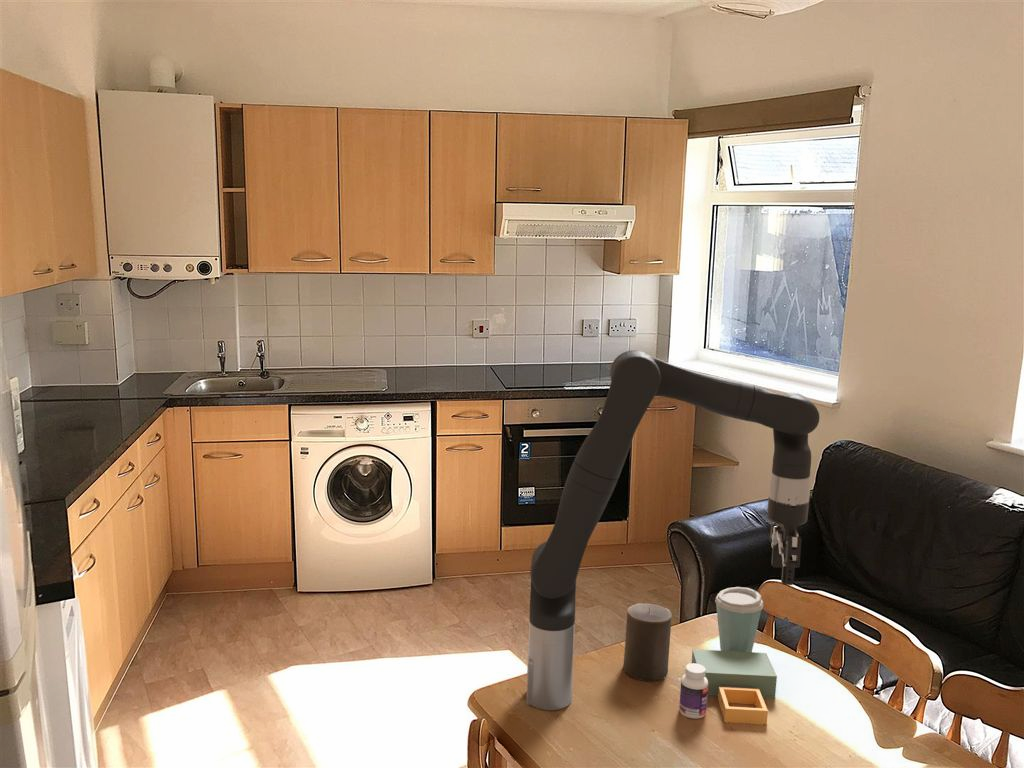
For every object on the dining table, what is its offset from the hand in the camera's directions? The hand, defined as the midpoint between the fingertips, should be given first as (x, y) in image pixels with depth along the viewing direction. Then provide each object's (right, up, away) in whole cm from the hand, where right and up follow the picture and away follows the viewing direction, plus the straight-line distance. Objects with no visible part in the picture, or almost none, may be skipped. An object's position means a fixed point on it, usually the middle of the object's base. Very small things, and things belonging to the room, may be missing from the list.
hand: (782, 575), depth 174 cm
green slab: (-6, -28, +10) cm, 30 cm away
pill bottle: (-17, -29, +4) cm, 34 cm away
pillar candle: (-24, -26, +21) cm, 40 cm away
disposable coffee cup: (-2, -25, +28) cm, 37 cm away
